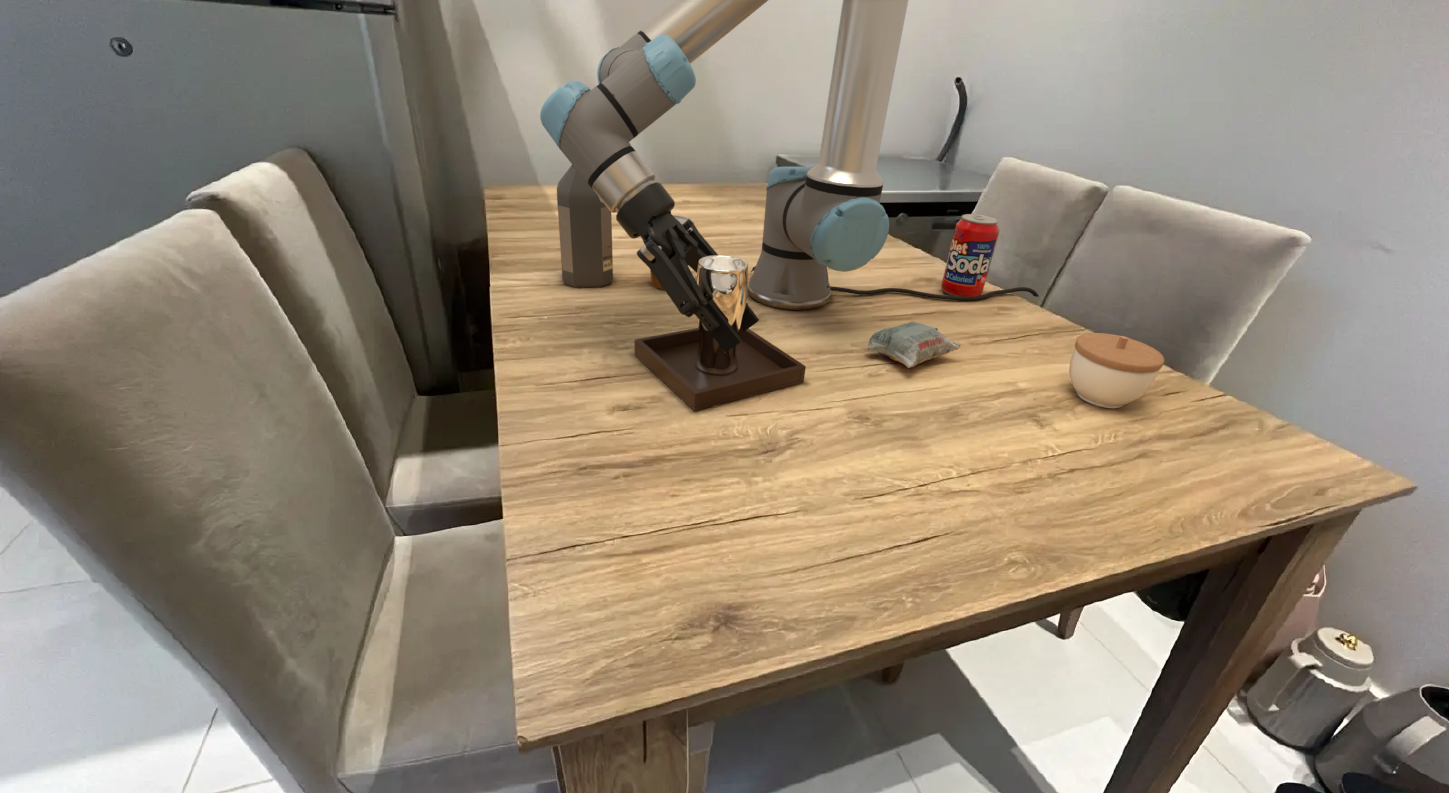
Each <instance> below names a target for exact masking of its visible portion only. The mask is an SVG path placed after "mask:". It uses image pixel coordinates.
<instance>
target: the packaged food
mask: <svg viewBox="0 0 1449 793" xmlns="http://www.w3.org/2000/svg"><path fill="white" fill-rule="evenodd" d="M961 346H962V344H961V343H960V342H956V341H952V340H950V339H949V338H947V337H946V336H945V335H944V334H943V333H942V332H940V331H939V329H938V327H935V326H933V325H932V326H931V325H927V324H924V323H920V322H917V321H910V322H907V323H904V324H900V325H897V326H892V327H887V328H885V329H881V330H879V331H876V332H874V333H873V334H872V335H871V337H870V338H869V340H868V344H867V350H868V351H873V350H875V351H877V352H878V353H880V354H881V355H883V356H885V357H886V358H888V359H891V360H893V361H894V362H897V363H899V364H901V365H904V366H905V367H906V368H908V369H909V368H913V367H916V366H917V365H919V364H921V363H924V362H925V361H930V360H933V359H935V358H938V357H941V356H945V355H948V354H950V353H951V352H955V351H956V350H959V349H961Z"/></svg>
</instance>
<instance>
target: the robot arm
mask: <svg viewBox="0 0 1449 793" xmlns="http://www.w3.org/2000/svg"><path fill="white" fill-rule="evenodd" d="M768 1H769V0H675V1H674V2H672V3H671V4H670V5H669V6H668V7H666V8H665V9H664V10H662V11H661V12H660V13H659V14H658V15H656V16H655V17H654V18H653V19H651V20H650V21H649V22H648V23H646V25H644V26H643V27H642V28H641V29H639V31H638V32H637V33H635V34H634V35H632V36H631V37H630V38H629V39H627V40H626V41H625V42H624V43H623V44H621V45H620V46H617V47H614V48H612V49H610V50H609V51H607V52H606V53H605V54H604V55H603V56H602V57H601V59H600V61H599V63H598V66H597V71H596V73H597V74H596V76H597V82H598V84H597V85H596V86H594V87H593V88H592V89H591V88H590V87H589V86H587V85H586V84H584V82H582V81H580V80H571V81H568V82H567V83H566V84H564V85H563V86H560V87H558V88H557V89H556V90H554V91H553V92H552V93H551V94H550V95H549V96H548V97H547V98H546V100H545V101H544V102H543V105H542V106H541V109H540V114H539V116H540V117H539V118H540V122H541V125H542V126H543V128H544V130H545V131H546V132H547V133H548V135H549V136H550V137H551V139H552V140H553V142H554V143H555V144H556V146H557V148H558V149H559V150H560V151H561V152H562V154H563V155H564V156H565V157H566V159H567V160H568V161H569V162H570V164H571V165H573V166H574V167H575V168H576V170H577V171H578V172H579V173H580V174H581V176H582V177H583V178H584V179H585V181H586V182H587V183H588V184H589V186H590V187H591V188H592V189H593V190H594V191H595V193H596V194H597V195H598V197H599V199H600V201H601V202H603V203H604V204H605V205H606V207H607V208H608V209H609V211H610V212H611V214H612V213H613V214H616V215H615V218H616V221H617V223H618V224H619V225H620V226H621V228H622V230H624V231H625V233H626V234H627V235H628V237H629V238H631V239H638V238H641V239H642V242H643V244H644V245H643V246H642V247H640V249H637V252H636V255H637V257H638V258H639V259H640V261H642V262H643V263H644V264H645V265H646V266H647V268H649V270H651V271H652V273H653V274H654V276H655V277H656V278H657V280H658V281H659V283H660V284H661V286H662V287H663V288H664V289H663V290H664V292H665V293H666V294H667V296H668V297H669V298H670V300H671V301H672V303H673V304H674V305H675V307H676V308H677V310H678V311H679V313H680V314H681V315H682V316H685V317H687V318H691V317H692V316H693V315H695V316H696V318H697V317H698V318H699V320H700V321H701V322H702V323H703V325H704V326H705V327H706V329H707V330H708V331H709V332H710V334H711V335H712V336H713V337H714V339H715V340H716V341H717V342H718V344H719V345H720V346H721V347H722V349H723V350H724V351H725V352H727V351H729V350H730V349H731V348H733V347H734V346H736V345H737V344H739V343H740V342H741V341H742V339H741V338H740V337H739V335H738V334H737V333H736V332H735V330H734V329H733V328H732V327H731V325H730V324H729V323H728V321H727V320H726V319H725V318H724V316H723V315H722V314H721V312H720V311H719V310H718V309H717V307H716V306H715V305H714V304H713V302H712V301H710V302H709V303H708V304H707V301H706V299H705V297H704V295H703V293H702V291H701V290H700V288H699V286H698V284H697V282H696V277H695V276H694V275H693V273H692V270H693V271H694V272H695V273H696V274H697V269H698V261H699V259H701V258H703V257H706V256H713V255H719V254H718V253H717V252H716V251H715V249H714V248H713V247H712V245H710V243H709V242H708V241H707V240H706V238H704V236H703V235H702V234H701V233H700V231H699V230H698V228H697V226H696V225H695V223H693V222H694V221H693V222H692V221H691V220H690V219H691V218H690V219H688V220H687V221H686V222H685V223H683V224H681V223H680V222H679V221H678V220H677V219H676V218H675V217H674V216H673V215H674V214H672V210H673V209H674V207H675V205H676V202H675V200H674V198H673V197H672V196H671V195H670V194H669V192H668V190H667V189H666V188H665V187H664V186H663V184H662V183H661V182H658V181H655V180H656V175H655V173H654V172H653V171H652V170H651V168H650V167H649V166H648V165H647V163H646V162H645V161H644V160H643V158H642V157H641V156H640V155H639V153H638V152H637V150H635V148H634V147H633V146H632V144H631V143H630V142H631V141H632V140H634V139H635V138H636V137H638V136H639V135H640V134H641V133H642V132H644V131H645V130H646V129H647V128H649V126H651V125H652V124H654V123H655V122H656V121H657V120H659V119H660V118H661V117H662V116H664V115H665V114H667V112H668V111H670V110H671V109H672V108H674V107H675V106H676V105H679V104H680V103H681V102H682V100H684V98H685V97H686V96H687V95H688V94H689V93H691V91H693V89H694V88H695V87H696V83H697V79H696V75H695V71H694V69H693V66H692V65H691V64H692V63H694V62H695V61H696V60H697V59H698V58H700V57H701V56H702V55H703V54H704V53H705V52H707V51H708V50H709V49H710V48H712V47H713V46H714V45H716V44H717V43H718V42H719V41H721V39H723V38H724V37H725V36H726V35H728V34H729V33H730V32H731V31H733V30H734V29H735V28H736V27H738V26H739V25H740V24H741V23H743V22H744V21H745V20H746V19H747V18H749V17H750V16H751V15H752V14H754V13H755V12H756V11H757V10H758V9H760V8H761V7H762V6H764V5H765V4H766V3H767V2H768ZM908 5H909V0H842V4H841V9H840V18H839V23H838V31H837V37H836V44H835V51H834V57H833V64H832V70H831V79H830V83H829V91H828V98H827V105H826V109H825V110H826V111H825V117H824V123H823V130H822V136H821V138H822V139H821V144H820V151H819V157H818V161H817V163H816V164H815V165H814V166H776V167H774V168H773V169H771V170H770V172H769V173H768V179H767V185H766V187H765V190H766V193H765V194H766V195H765V205H764V206H765V208H764V217H763V218H764V221H763V230H762V242H761V243H762V244H761V252H760V255H759V257H758V259H757V262H756V265H755V266H753V267H752V269H751V272H750V273H752V275H751V276H750V278H749V281H748V287H747V294H748V295H749V297H750V298H752V299H753V300H755V301H756V302H758V303H760V304H763V305H765V306H769V307H771V308H778V309H783V310H795V311H796V310H797V311H800V310H801V311H803V310H805V311H806V310H812V309H813V310H814V309H818V308H821V307H823V306H825V305H827V304H828V303H829V301H830V298H831V291H832V292H839V293H848V294H852V295H861V296H862V295H863V296H870V295H877V294H882V293H883V294H884V293H899V294H900V293H901V294H907V295H913V296H919V297H922V298H923V297H924V298H928V299H929V298H930V299H936V300H946V301H978V300H979V301H980V300H984V299H987V298H990V297H992V296H997V295H998V296H999V295H1005V294H1011V293H1017V292H1026V293H1030V294H1031V295H1032V296H1033V297H1036V298H1038V297H1040V295H1039V293H1038V292H1037V291H1036V290H1034V289H1033V288H1031V287H1027V286H1017V287H1011V288H1007V289H998V290H993V291H990V292H987V293H984V294H983V293H982V294H981V295H979V296H975V297H969V296H950V295H948V294H937V293H930V292H924V291H919V290H914V289H907V288H901V287H885V288H877V289H868V290H863V289H861V290H860V289H854V288H847V287H840V286H833V285H831V284H830V281H829V280H830V279H829V272H828V269H830V270H832V271H836V272H842V273H843V272H844V273H845V272H851V271H855V270H858V269H860V268H863V267H864V266H866V265H867V264H868V263H869V262H870V261H871V260H873V259H875V258H876V257H877V255H878V254H879V253H880V252H881V250H882V249H883V247H884V245H885V243H886V242H887V239H888V236H889V231H890V219H889V216H888V214H887V213H886V210H885V208H884V206H883V205H882V204H880V202H881V197H882V194H883V188H884V179H883V178H882V177H881V175H880V173H879V172H878V171H877V166H878V161H879V154H880V149H881V144H882V139H883V134H884V130H885V124H886V118H887V113H888V109H889V103H890V97H891V93H892V87H893V83H894V82H893V81H894V77H895V72H896V66H897V62H898V56H899V51H900V46H901V40H902V36H903V30H904V26H905V20H906V14H907V8H908ZM656 258H657V260H655V259H656ZM691 269H692V270H691ZM706 304H707V305H706ZM759 321H760V318H759V317H758V316H757V314H756V313H755V312H754V311H753V309H752V308H751V307H750V306H749V304H748V303H747V302H746V306H745V311H744V315H743V319H742V323H741V326H740V327H741V328H742V330H743V331H746V330H747V329H748V328H749V329H750V328H751V327H753V326H754V325H756V324H757V323H758V322H759Z"/></svg>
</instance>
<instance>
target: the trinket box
mask: <svg viewBox="0 0 1449 793" xmlns="http://www.w3.org/2000/svg"><path fill="white" fill-rule="evenodd" d="M1164 364H1165V358H1164V356H1163V354H1162V353H1161V352H1160V351H1158V350H1157V349H1155V348H1154V347H1152V346H1150V345H1148V344H1146V343H1143V342H1141V341H1139V340H1136V339H1133V338H1131V337H1128V336H1125V335H1118V334H1112V333H1105V332H1104V333H1103V332H1088V333H1082V334H1080V335H1079V336H1077V338H1076V339H1075V342H1074V347H1073V350H1072V354H1071V357H1070V361H1069V366H1068V367H1069V368H1068V374H1069V379H1070V382H1071V385H1072V386H1073V388H1074V389H1075V393H1076V395H1077V396H1078V397H1079V398H1080V399H1082V401H1085V402H1087V403H1088V404H1091V405H1093V406H1097V407H1099V408H1105V409H1119V408H1122V407H1124V406H1125V405H1127V404H1130V403H1133V402H1135V401H1137V400H1138V399H1140V398H1141V397H1142V396H1144V395H1145V394H1146V393H1147V391H1148V390H1149V389H1150V388H1151V386H1152V385H1153V384H1154V382H1155V381H1156V378H1157V377H1158V374H1159V372H1160V370H1161V369H1162V368H1163V366H1164Z"/></svg>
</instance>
